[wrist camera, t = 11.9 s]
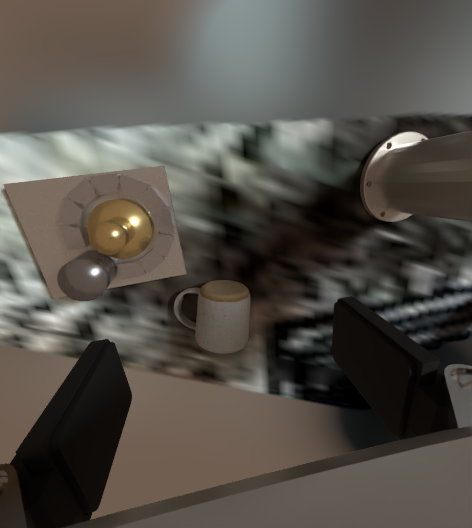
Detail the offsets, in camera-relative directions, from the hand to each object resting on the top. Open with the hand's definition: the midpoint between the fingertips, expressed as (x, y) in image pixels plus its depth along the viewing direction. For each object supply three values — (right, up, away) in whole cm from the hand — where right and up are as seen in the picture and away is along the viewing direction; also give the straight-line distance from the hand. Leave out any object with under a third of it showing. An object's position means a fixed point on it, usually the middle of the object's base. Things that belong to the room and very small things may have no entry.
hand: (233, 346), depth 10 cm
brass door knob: (-14, +8, +19) cm, 25 cm away
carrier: (-16, +7, +20) cm, 27 cm away
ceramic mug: (-4, -3, +26) cm, 27 cm away
